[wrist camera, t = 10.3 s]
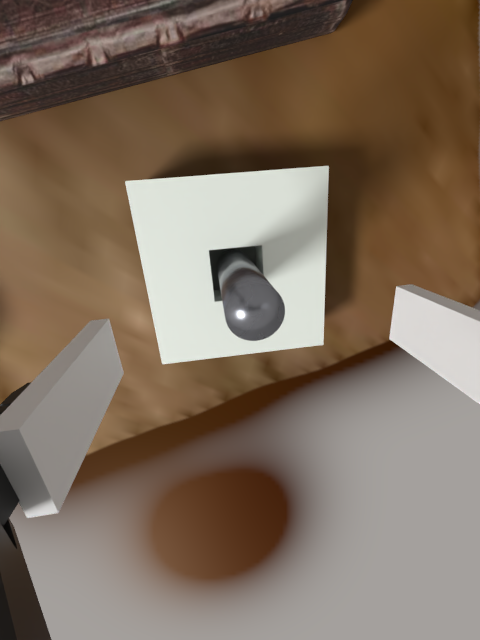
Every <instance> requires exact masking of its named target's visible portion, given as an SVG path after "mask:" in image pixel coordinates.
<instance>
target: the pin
mask: <svg viewBox="0 0 480 640" xmlns="http://www.w3.org/2000/svg"><path fill="white" fill-rule="evenodd" d="M217 272H218V278H219V284H220V290H221V296H222V302H223V308H224V314H225V320H226V323H227V325H228V327H229V329H230V330H231V331H232V333H233V334H235V335H236V336H237V337H239V338H241V339H244V340H248V341H258V340H263V339H265V338H268V337H269V336H271V335H273V334H274V333H275V332H276V331H277V330H278V329H279V328H280V326H281V324H282V322H283V320H284V316H285V305H284V302H283V299H282V297H281V296H280V294H279V293H278V292H277V291H276V290H275V288H274V287H273V286H272V285H271V284H270V282H269V281H268V280H267V279H266V278H265V276H264V275H263V274H262V273H261V272H260V271H259V269H258V268H257V267H256V266H255V265H254V263H253V262H252V261H251V260H250V259H249V257H248V256H247V255H246V254H245V253H244V252H242V251H240V250H237V249H231V250H227V251H225V252H224V253H223V254H221V256H220V257H219V259H218V261H217Z"/></svg>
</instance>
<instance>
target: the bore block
mask: <svg viewBox="0 0 480 640" xmlns="http://www.w3.org/2000/svg"><path fill="white" fill-rule="evenodd" d="M328 179H329V166H318V167H305V168H292V169H279V170H266V171H253V172H240V173H227V174H213V175H200V176H187V177H174V178H161V179H148V180H135V181H125V184H126V189H127V194H128V198H129V203H130V208H131V213H132V218H133V223H134V228H135V233H136V238H137V243H138V248H139V252H140V257H141V262H142V267H143V272H144V277H145V282H146V287H147V292H148V297H149V301H150V306H151V311H152V316H153V321H154V326H155V331H156V336H157V341H158V346H159V351H160V355H161V360H162V364H169V363H177V362H185V361H193V360H202V359H210V358H218V357H226V356H235V355H243V354H251V353H259V352H267V351H276V350H284V349H292V348H300V347H309V346H317V345H323V340H324V308H325V276H326V243H327V211H328ZM231 249H237V250H240V251H242V252H244V253H245V254H246V255H247V256H248V257H249V259H250V260H251V261H252V262H253V263H254V265H255V266H256V267H257V268H258V269H259V271H260V272H261V273H262V274H263V275H264V276H265V278H266V279H267V280H268V281H269V282H270V284H271V285H272V286H273V287H274V288H275V290H276V291H277V292H278V293H279V294H280V296H281V297H282V299H283V302H284V305H285V316H284V320H283V322H282V324H281V326H280V328H279V329H278V330H277V331H276V332H275V333H274V334H273V335H271V336H269V337H268V338H265V339H263V340H258V341H248V340H244V339H241V338H239V337H237V336H236V335H235V334H233V333H232V331H231V330H230V329H229V327H228V325H227V323H226V320H225V314H224V308H223V302H222V296H221V290H220V284H219V278H218V272H217V261H218V259H219V257H220V256H221V254H223V253H224V252H225V251H227V250H231Z"/></svg>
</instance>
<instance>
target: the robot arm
mask: <svg viewBox="0 0 480 640" xmlns="http://www.w3.org/2000/svg"><path fill="white" fill-rule="evenodd" d="M389 339H390V340H391V341H393V342H394V343H396V344H397V345H398V346H400V347H401V348H403V349H404V350H405V351H407V352H408V353H410V354H411V355H412V356H414V357H415V358H416V359H418V360H419V361H421V362H422V363H423V364H425V365H426V366H427V367H429V368H430V369H432V370H433V371H434V372H436V373H437V374H439V375H440V376H441V377H443V378H444V379H445V380H447V381H448V382H450V383H451V384H453V385H454V386H455V387H457V388H458V389H460V390H461V391H462V392H463V393H465V394H466V395H468V396H469V397H471V398H472V399H473V400H475V401H476V402H477V403H479V404H480V311H479V310H477V309H474V308H472V307H469V306H466V305H464V304H461V303H459V302H456V301H453V300H451V299H448V298H446V297H443V296H440V295H438V294H435V293H433V292H430V291H427V290H425V289H422V288H420V287H417V286H414V285H403V286H396V293H395V301H394V308H393V316H392V323H391V330H390V338H389ZM122 376H123V369H122V365H121V362H120V358H119V354H118V351H117V347H116V343H115V339H114V336H113V332H112V328H111V325H110V321H109V319H102V320H93V321H90V322H89V323H88V324H87V325H86V326H85V327H84V328H83V329H82V330H81V331H80V332H79V333H78V334H77V336H76V337H75V338H74V339H73V340H72V341H71V342H70V343H69V344H68V345H67V346H66V347H65V348H64V349H63V350H62V351H61V352H60V353H59V354H58V355H57V356H56V357H55V359H54V360H53V361H52V362H51V363H50V364H49V365H48V366H47V367H46V368H45V369H44V370H43V371H42V372H41V373H40V374H39V375H38V376H37V377H36V378H35V379H34V380H33V382H32V383H27V384H25V385H24V386H22V387H21V388H19V389H18V390H16V391H14V392H13V393H11V394H10V395H9V396H8V397H7V398H6V399H5V400H4V401H3V402H2V403H1V404H0V640H51V637H50V634H49V631H48V628H47V625H46V622H45V619H44V616H43V613H42V610H41V607H40V604H39V601H38V598H37V595H36V592H35V589H34V586H33V583H32V580H31V577H30V574H29V571H28V568H27V565H26V562H25V559H24V556H23V553H22V550H21V547H20V544H19V541H18V538H17V535H16V532H15V529H14V527H13V524H12V523H11V521H10V519H9V517H10V515H11V514H12V512H13V510H14V509H15V507H16V506H17V504H18V502H19V504H20V506H21V507H22V509H23V511H24V513H25V515H26V517H27V518H30V517H36V516H42V515H48V514H55V513H59V511H60V509H61V506H62V504H63V502H64V500H65V498H66V496H67V493H68V491H69V489H70V487H71V485H72V483H73V481H74V479H75V476H76V474H77V472H78V470H79V468H80V466H81V463H82V461H83V459H84V457H85V455H86V453H87V451H88V449H89V446H90V444H91V442H92V440H93V438H94V436H95V434H96V431H97V429H98V427H99V425H100V423H101V421H102V418H103V416H104V414H105V412H106V410H107V408H108V406H109V403H110V401H111V399H112V397H113V395H114V393H115V391H116V388H117V386H118V384H119V382H120V380H121V378H122Z"/></svg>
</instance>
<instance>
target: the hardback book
mask: <svg viewBox="0 0 480 640" xmlns="http://www.w3.org/2000/svg"><path fill="white" fill-rule="evenodd" d="M352 1H353V0H0V121H3V120H6V119H10V118H14V117H18V116H21V115H25V114H29V113H32V112H36V111H40V110H44V109H47V108H51V107H55V106H59V105H62V104H66V103H70V102H74V101H77V100H81V99H85V98H89V97H92V96H96V95H100V94H103V93H107V92H111V91H115V90H118V89H122V88H126V87H130V86H133V85H137V84H141V83H145V82H148V81H152V80H156V79H160V78H163V77H167V76H171V75H175V74H178V73H182V72H186V71H190V70H193V69H197V68H201V67H205V66H208V65H212V64H216V63H220V62H223V61H227V60H231V59H235V58H238V57H242V56H246V55H250V54H253V53H257V52H261V51H265V50H268V49H272V48H276V47H280V46H284V45H288V44H291V43H295V42H299V41H303V40H306V39H310V38H314V37H317V36H321V35H325V34H329V33H332V32H333V31H335V29H336V28H337V26H338V25H339V24H340V22H341V21H342V19H343V18H344V17H345V15H346V14H347V12H348V10H349V7H350V5H351V3H352Z"/></svg>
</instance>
